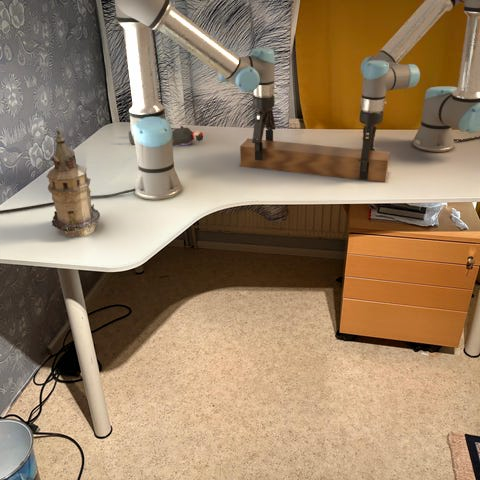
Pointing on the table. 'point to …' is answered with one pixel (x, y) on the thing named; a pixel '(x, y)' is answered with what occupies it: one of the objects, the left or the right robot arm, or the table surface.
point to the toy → (179, 136)
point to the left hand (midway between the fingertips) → (264, 153)
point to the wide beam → (315, 159)
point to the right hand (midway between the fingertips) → (364, 173)
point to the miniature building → (70, 193)
